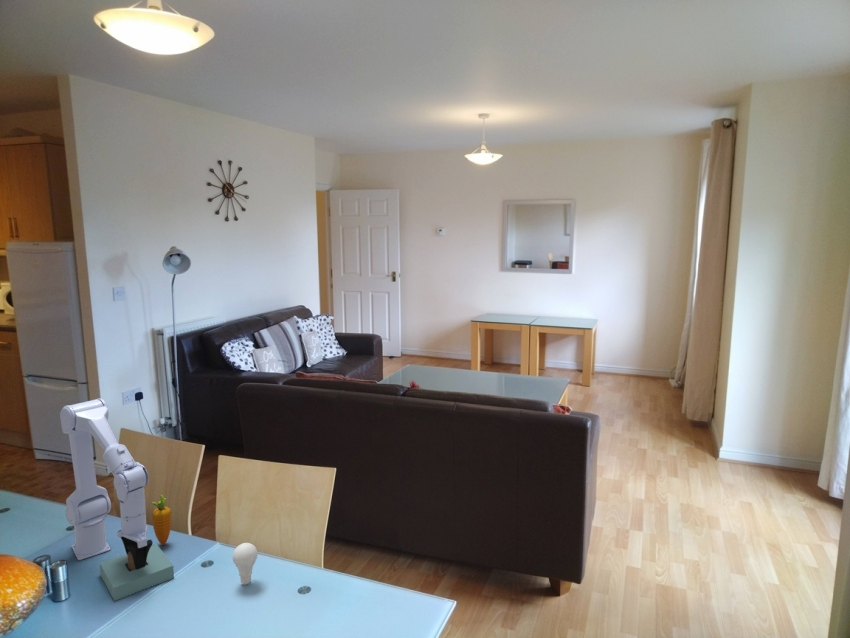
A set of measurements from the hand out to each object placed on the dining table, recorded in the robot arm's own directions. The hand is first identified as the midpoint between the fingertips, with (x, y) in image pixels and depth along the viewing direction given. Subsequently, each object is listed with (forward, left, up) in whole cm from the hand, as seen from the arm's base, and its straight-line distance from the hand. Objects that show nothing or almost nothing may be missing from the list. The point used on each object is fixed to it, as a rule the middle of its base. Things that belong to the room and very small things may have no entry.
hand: (136, 561), depth 142 cm
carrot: (-11, +10, -5) cm, 15 cm away
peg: (0, 0, -4) cm, 4 cm away
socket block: (0, 0, -4) cm, 4 cm away
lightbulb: (+22, +20, -5) cm, 30 cm away
